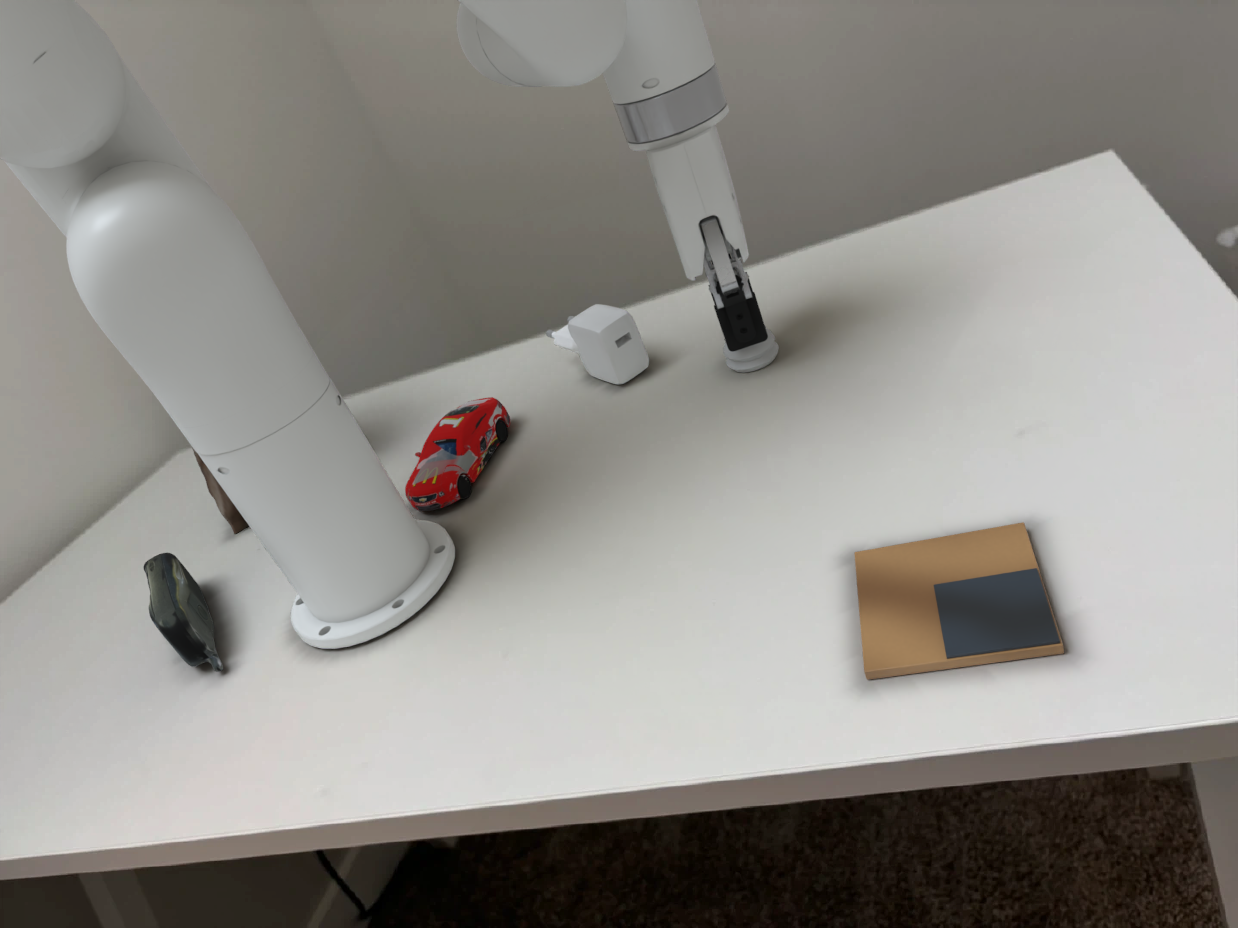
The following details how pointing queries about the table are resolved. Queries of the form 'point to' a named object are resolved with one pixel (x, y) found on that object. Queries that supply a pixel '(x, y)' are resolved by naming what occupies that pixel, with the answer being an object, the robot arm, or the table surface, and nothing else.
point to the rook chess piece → (751, 351)
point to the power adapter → (604, 343)
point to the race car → (456, 453)
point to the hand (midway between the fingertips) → (744, 331)
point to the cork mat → (953, 603)
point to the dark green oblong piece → (181, 611)
